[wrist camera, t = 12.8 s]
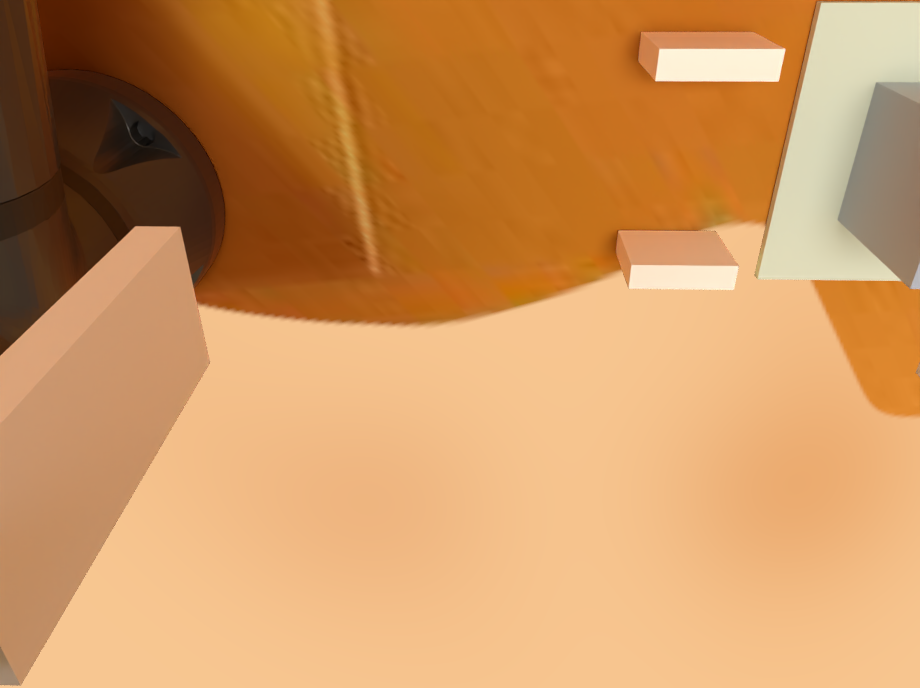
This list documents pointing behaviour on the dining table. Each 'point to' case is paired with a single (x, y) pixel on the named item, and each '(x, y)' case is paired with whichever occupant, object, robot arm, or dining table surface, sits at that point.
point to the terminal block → (888, 181)
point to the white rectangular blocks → (693, 252)
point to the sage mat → (834, 138)
